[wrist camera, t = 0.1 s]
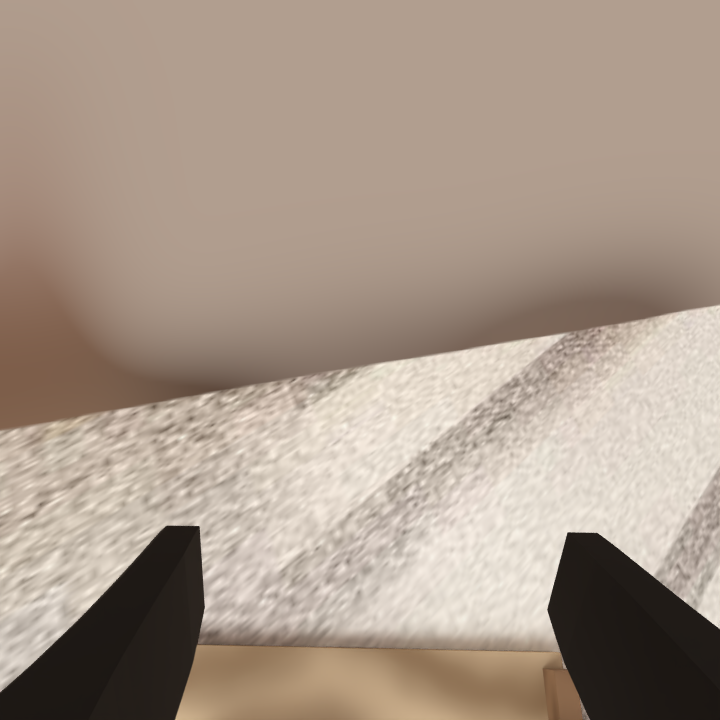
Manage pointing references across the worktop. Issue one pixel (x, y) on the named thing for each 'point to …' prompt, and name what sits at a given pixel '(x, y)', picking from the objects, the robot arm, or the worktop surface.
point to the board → (376, 684)
